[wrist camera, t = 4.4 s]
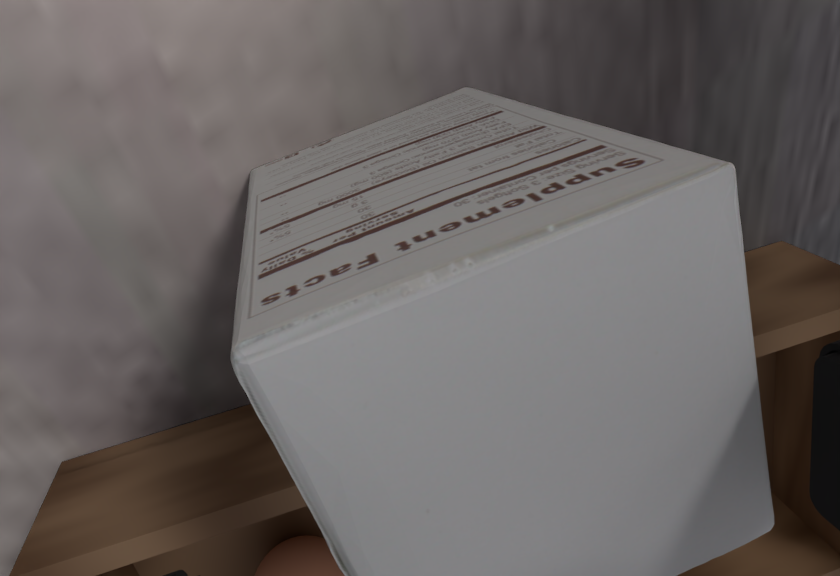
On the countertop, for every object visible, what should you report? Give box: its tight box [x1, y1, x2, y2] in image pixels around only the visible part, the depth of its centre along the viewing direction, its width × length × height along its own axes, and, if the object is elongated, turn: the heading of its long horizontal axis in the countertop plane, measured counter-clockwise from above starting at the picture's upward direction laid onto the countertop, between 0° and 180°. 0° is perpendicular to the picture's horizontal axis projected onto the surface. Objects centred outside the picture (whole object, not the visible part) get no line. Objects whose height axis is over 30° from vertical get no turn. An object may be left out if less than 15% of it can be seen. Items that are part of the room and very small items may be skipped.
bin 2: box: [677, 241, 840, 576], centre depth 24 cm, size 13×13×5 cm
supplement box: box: [231, 87, 774, 576], centre depth 15 cm, size 7×7×13 cm
